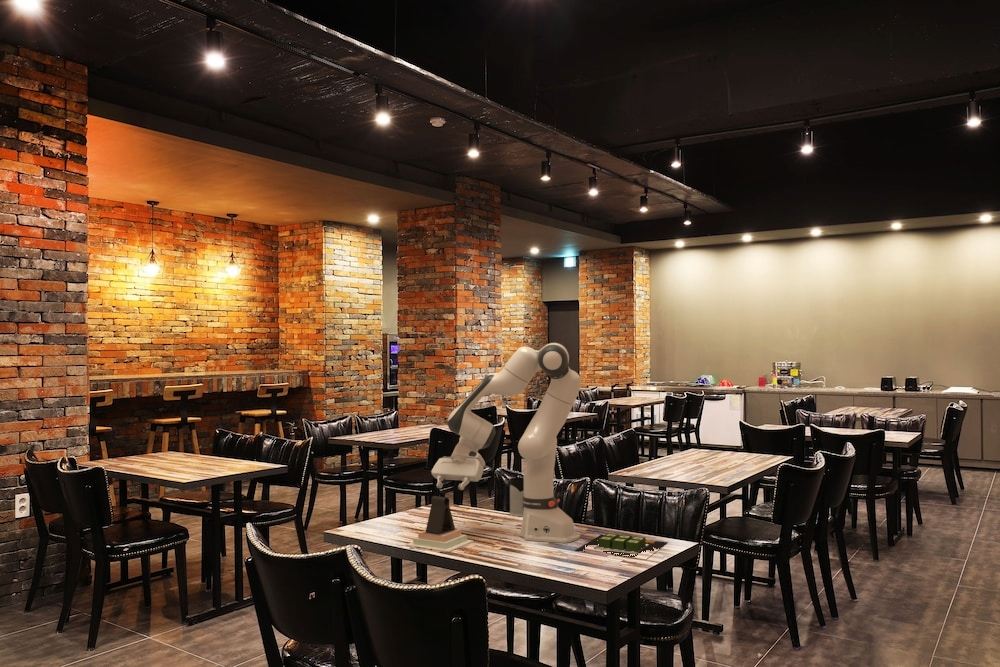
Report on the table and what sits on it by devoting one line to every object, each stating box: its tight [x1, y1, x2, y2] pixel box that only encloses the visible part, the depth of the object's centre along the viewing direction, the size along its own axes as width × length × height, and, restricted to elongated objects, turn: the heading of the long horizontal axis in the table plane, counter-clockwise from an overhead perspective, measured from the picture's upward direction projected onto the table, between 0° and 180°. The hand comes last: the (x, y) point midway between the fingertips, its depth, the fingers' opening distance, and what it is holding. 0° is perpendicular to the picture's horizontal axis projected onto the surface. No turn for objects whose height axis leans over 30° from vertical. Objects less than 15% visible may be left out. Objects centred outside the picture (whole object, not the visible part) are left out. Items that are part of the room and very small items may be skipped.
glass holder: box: [508, 476, 524, 516], centre depth 311 cm, size 9×14×15 cm, turn 123°
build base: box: [405, 528, 475, 553], centre depth 262 cm, size 18×16×5 cm
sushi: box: [574, 532, 669, 558], centre depth 256 cm, size 25×25×4 cm
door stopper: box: [425, 495, 456, 534], centre depth 262 cm, size 9×6×12 cm, turn 143°
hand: (449, 488), depth 270 cm, fingers open, 8 cm apart
